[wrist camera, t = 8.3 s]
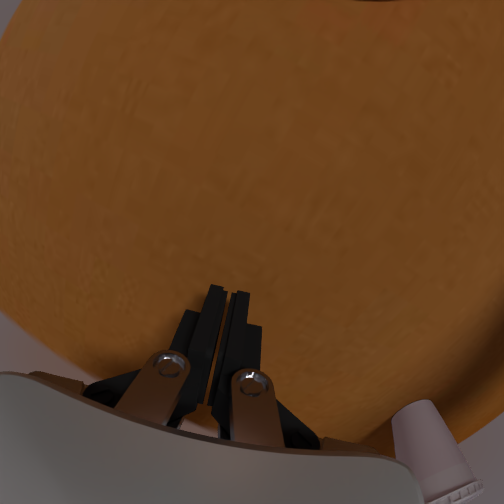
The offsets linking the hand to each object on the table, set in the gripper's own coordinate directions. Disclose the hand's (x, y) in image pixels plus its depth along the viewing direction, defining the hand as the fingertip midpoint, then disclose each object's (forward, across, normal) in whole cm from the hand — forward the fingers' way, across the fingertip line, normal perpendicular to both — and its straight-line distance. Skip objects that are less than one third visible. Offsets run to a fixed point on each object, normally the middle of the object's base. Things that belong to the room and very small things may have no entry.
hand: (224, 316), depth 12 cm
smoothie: (+2, -16, +8) cm, 18 cm away
